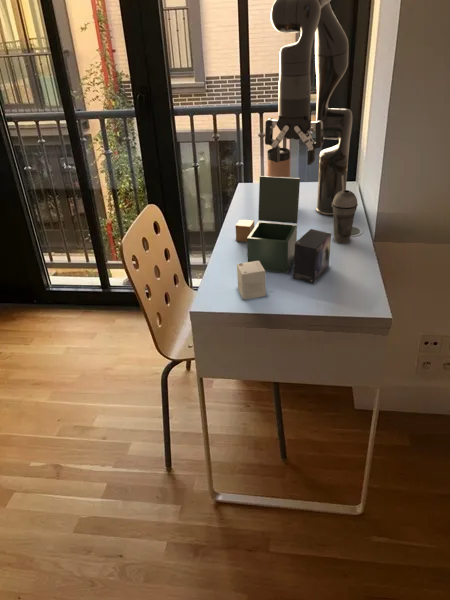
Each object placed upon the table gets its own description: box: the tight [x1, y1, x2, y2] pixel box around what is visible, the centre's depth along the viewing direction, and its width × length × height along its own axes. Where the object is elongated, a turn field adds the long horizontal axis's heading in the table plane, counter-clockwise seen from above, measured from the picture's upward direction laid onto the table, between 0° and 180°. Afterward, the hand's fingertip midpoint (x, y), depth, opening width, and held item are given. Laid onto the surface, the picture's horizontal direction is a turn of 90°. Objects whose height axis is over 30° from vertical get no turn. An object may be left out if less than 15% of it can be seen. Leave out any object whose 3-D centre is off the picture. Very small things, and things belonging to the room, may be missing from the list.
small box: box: [292, 228, 332, 284], centre depth 134 cm, size 11×6×10 cm, turn 148°
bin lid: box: [257, 175, 301, 225], centre depth 141 cm, size 12×11×1 cm
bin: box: [246, 221, 298, 274], centre depth 142 cm, size 12×11×9 cm
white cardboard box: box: [236, 261, 267, 301], centre depth 128 cm, size 6×6×7 cm
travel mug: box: [266, 147, 291, 178], centre depth 173 cm, size 8×8×20 cm
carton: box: [235, 219, 255, 243], centre depth 157 cm, size 5×5×5 cm
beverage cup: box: [332, 176, 359, 245], centre depth 148 cm, size 7×7×20 cm
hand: (293, 162), depth 127 cm, fingers open, 8 cm apart
